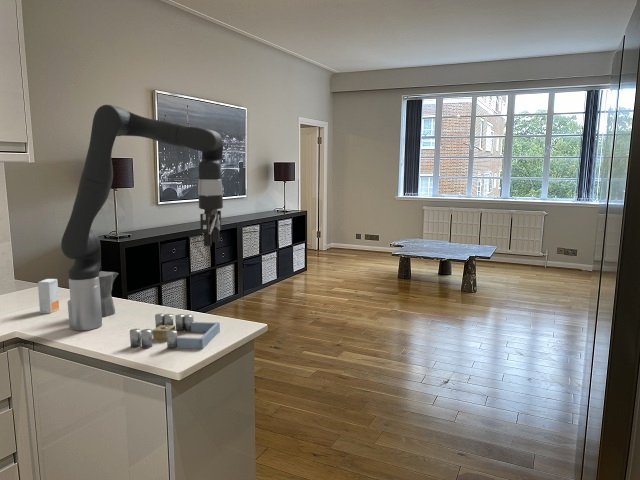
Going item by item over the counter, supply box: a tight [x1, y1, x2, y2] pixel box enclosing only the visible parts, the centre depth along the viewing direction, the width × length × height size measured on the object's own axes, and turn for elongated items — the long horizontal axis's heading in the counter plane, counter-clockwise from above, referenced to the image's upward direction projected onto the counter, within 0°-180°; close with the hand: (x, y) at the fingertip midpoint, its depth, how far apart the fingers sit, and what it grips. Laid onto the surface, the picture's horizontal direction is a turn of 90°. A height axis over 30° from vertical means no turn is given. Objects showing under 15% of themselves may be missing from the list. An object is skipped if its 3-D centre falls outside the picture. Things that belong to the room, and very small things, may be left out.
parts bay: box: [176, 321, 221, 350], centre depth 151 cm, size 10×16×3 cm, turn 174°
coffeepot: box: [99, 266, 120, 318], centre depth 176 cm, size 15×9×18 cm, turn 129°
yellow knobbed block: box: [152, 325, 176, 342], centre depth 152 cm, size 5×5×4 cm
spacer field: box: [129, 313, 195, 350], centre depth 152 cm, size 14×19×5 cm
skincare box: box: [37, 278, 60, 314], centre depth 181 cm, size 6×4×12 cm
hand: (211, 244), depth 155 cm, fingers open, 8 cm apart
